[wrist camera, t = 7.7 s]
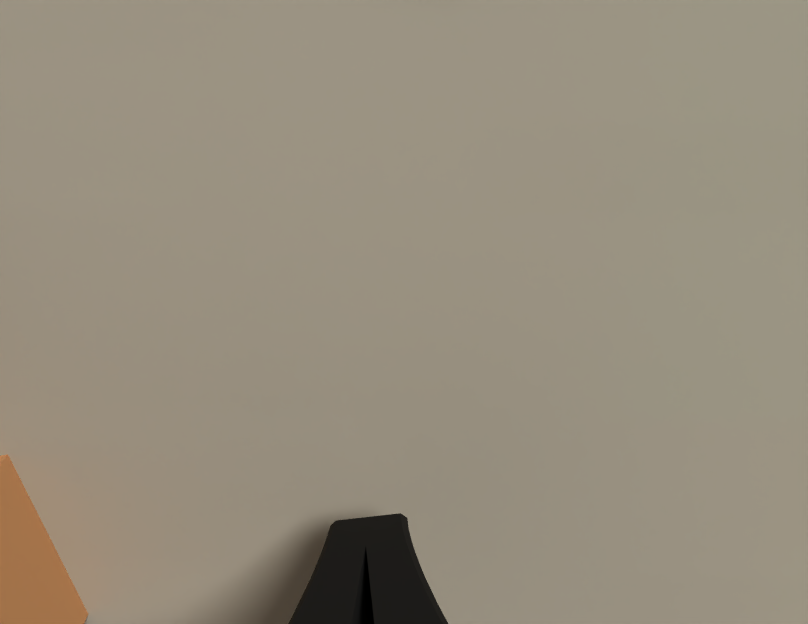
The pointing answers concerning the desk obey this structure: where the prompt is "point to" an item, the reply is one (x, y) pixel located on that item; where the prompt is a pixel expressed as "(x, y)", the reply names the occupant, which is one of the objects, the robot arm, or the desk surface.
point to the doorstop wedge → (30, 562)
